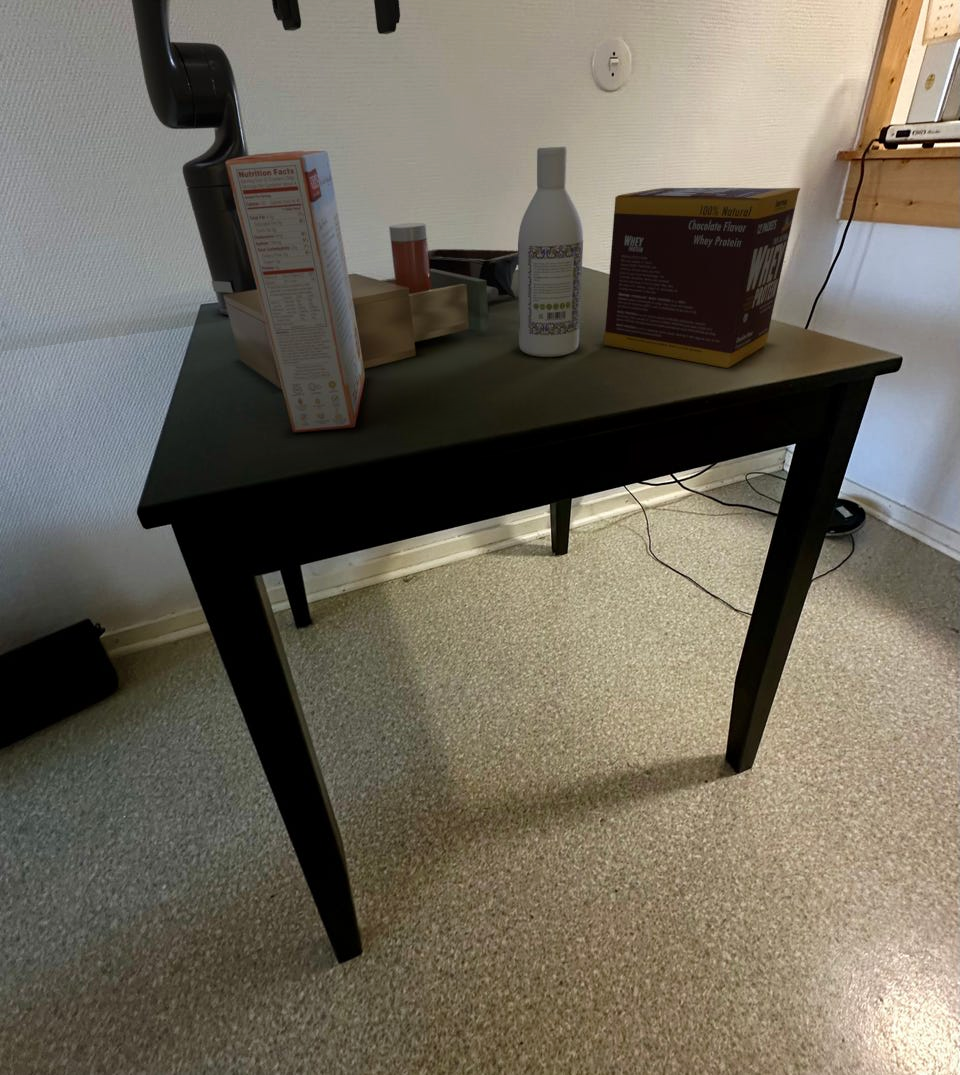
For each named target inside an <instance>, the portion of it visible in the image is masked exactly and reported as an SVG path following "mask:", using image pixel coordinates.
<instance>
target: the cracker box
mask: <svg viewBox="0 0 960 1075" xmlns="http://www.w3.org/2000/svg"><path fill="white" fill-rule="evenodd" d="M226 169H227V173H228V177H229V180H230V184H231V188H232V192H233V195H234V199H235V204H236V208H237V212H238V216H239V220H240V224H241V228H242V231H243V235H244V239H245V243H246V247H247V251H248V255H249V259H250V263H251V266H252V270H253V274H254V278H255V282H256V286H257V290H258V294H259V298H260V302H261V306H262V310H263V314H264V318H265V322H266V326H267V330H268V334H269V338H270V342H271V346H272V350H273V354H274V358H275V362H276V366H277V370H278V374H279V378H280V382H281V386H282V389H281V390H282V393H283V395H284V396H283V397H284V401H285V404H286V409H287V413H288V418H289V421H290V425H291V429H292V432H293V433H307V432H308V433H309V432H318V431H328V430H329V431H331V430H340V429H353V428H355V427H356V424H357V417H358V413H359V409H360V403H361V398H362V394H363V388H364V385H365V384H364V383H365V379H366V374H365V373H366V372H365V369H364V365H363V359H362V353H361V347H360V341H359V335H358V329H357V323H356V318H355V312H354V306H353V300H352V294H351V288H350V282H349V276H348V274H349V272H348V271H349V270H348V265H347V260H346V253H345V247H344V241H343V236H342V229H341V223H340V217H339V216H340V215H339V211H338V205H337V200H336V193H335V188H334V180H333V176H332V170H331V164H330V158H329V152H328V151H327V150H309V151H308V150H306V151H305V150H293V151H281V152H280V151H279V152H268V153H267V152H266V153H254V154H249V156H244V157H239V158H234V159H230V160H227V161H226Z"/></svg>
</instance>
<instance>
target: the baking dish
mask: <svg viewBox="0 0 960 1075" xmlns="http://www.w3.org/2000/svg"><path fill="white" fill-rule="evenodd" d="M428 251H429V263H430V269H436V270H441V271H445V272H450V273H455V274H459V275H464V276H469V277H473V278H478V279H483V280H486V283H487V286H489V287H494V288H496V289H497V290H498V296H509V297H511V298H514V299H515V293H514V290H512V285H513V284H512V283H513V280H514V273H515V271H516V269H517V267H518V249H517V250H514V249H509V250H507V249H504V250H503V249H473V248H471V249H468V248H467V249H466V248H465V249H464V248H449V249H448V248H433V249H428Z"/></svg>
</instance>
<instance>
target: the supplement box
mask: <svg viewBox="0 0 960 1075" xmlns="http://www.w3.org/2000/svg"><path fill="white" fill-rule="evenodd" d="M800 190H801V188H800V187H777V188H776V187H765V188H764V187H754V188H753V187H661V188H652V189H646V190H639V191H634V192H627V193H623V194H618V195H616V196H615V199H614V211H613V220H612V221H613V222H612V223H613V224H612V236H611V248H610V249H611V252H610V263H609V277H608V287H607V289H608V292H607V302H606V304H607V305H606V317H605V328H604V338H603V345H604V346H608V347H613V348H618V349H622V350H623V349H624V350H629V351H633V352H635V351H636V352H640V353H644V354H650V355H655V356H660V357H666V358H672V359H676V360H681V361H682V360H683V361H687V362H691V363H698V364H703V365H709V366H714V367H719V368H724V369H725V368H726V369H728V368H731V367H732V366H734V365H735V364H737V363H739V362H740V361H742V360H744V359H745V358H747V357H748V356H751V355H752V354H754V353H755V352H757V351H758V350H759V349H762V348H763V347H764V346H766V345H767V342H768V337H769V332H770V327H771V323H772V318H773V312H774V308H775V302H776V299H777V294H778V290H779V284H780V280H781V276H782V271H783V266H784V261H785V258H786V252H787V248H788V243H789V238H790V234H791V228H792V224H793V220H794V215H795V211H796V207H797V201H798V197H799V194H800Z"/></svg>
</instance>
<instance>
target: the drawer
mask: <svg viewBox="0 0 960 1075" xmlns="http://www.w3.org/2000/svg"><path fill="white" fill-rule="evenodd" d="M430 275H431V286H432V290H427V291H422V292H417V293H412V294H409V296H410V305H411V314H412V323H413V333H414V342H415V343H417V342H422V341H426V340H430V339H434V338H438V337H443V336H446V335H450V334H455V333H460V332H463V331H468V330H470V328H471V329H474V330H477V331H486V330H489V314H488V310H489V309H488V299H490V300H495V299H497V298H498V296H499V295H498V290H497V289H496V288H494V287H489V286H487V283H486V280H483V279H478V278H473V277H469V276H464V275H459V274H455V273H450V272H445V271H441V270H436V269H430ZM380 280H381V281H384V282H388V283H392V284H395V277H392V278H387V279H380Z"/></svg>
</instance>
